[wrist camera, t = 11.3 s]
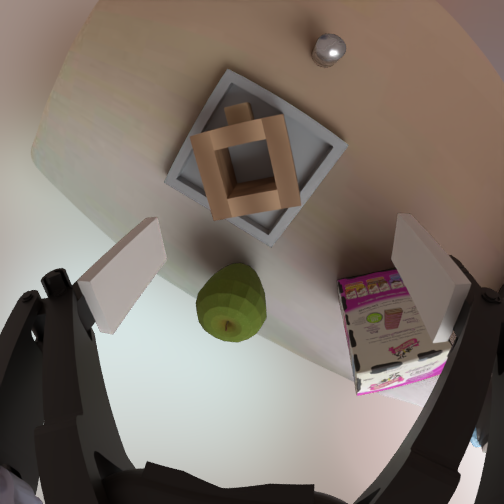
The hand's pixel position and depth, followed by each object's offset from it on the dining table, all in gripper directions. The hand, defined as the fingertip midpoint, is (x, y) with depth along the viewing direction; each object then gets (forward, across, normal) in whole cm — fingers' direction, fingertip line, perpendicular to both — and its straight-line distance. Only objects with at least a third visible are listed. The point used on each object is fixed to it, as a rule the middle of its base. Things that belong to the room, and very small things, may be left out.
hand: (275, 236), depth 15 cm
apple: (+20, +7, +15) cm, 25 cm away
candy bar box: (+20, -13, +17) cm, 29 cm away
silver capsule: (+19, -5, -13) cm, 24 cm away
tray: (+19, +4, -1) cm, 20 cm away
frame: (+19, +4, -1) cm, 19 cm away
